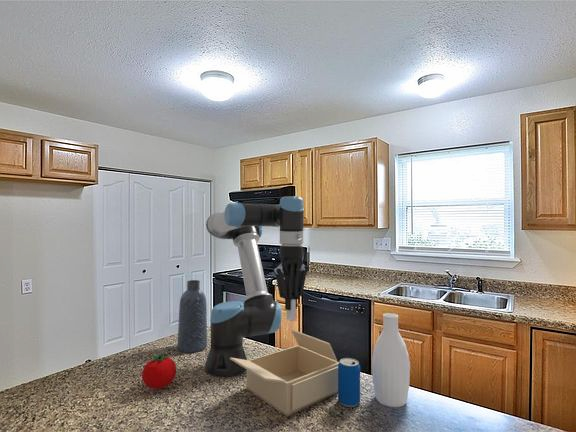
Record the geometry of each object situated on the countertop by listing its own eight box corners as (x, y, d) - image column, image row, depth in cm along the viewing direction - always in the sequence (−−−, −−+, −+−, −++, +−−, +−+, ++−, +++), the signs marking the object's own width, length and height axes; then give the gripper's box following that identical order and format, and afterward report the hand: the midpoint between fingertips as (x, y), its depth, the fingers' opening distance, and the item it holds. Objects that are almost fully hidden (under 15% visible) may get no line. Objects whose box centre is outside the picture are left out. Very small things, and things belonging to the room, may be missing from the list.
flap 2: (337, 360, 107) (329, 343, 105) (336, 361, 106) (328, 344, 104) (299, 344, 121) (291, 329, 118) (298, 345, 120) (291, 330, 118)
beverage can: (360, 409, 96) (360, 367, 96) (337, 407, 97) (337, 365, 97) (360, 398, 102) (360, 358, 102) (338, 395, 103) (338, 356, 104)
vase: (203, 353, 137) (204, 283, 138) (173, 353, 137) (174, 283, 137) (209, 342, 149) (210, 278, 150) (182, 342, 149) (183, 278, 150)
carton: (245, 388, 108) (245, 359, 108) (296, 369, 122) (296, 344, 122) (288, 418, 91) (289, 384, 91) (342, 392, 105) (342, 363, 106)
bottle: (390, 413, 94) (390, 322, 94) (364, 395, 104) (364, 312, 104) (418, 404, 99) (418, 317, 100) (390, 387, 109) (390, 308, 109)
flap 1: (247, 362, 106) (229, 359, 102) (248, 360, 106) (230, 357, 102) (283, 382, 93) (264, 380, 88) (284, 380, 93) (265, 378, 89)
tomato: (182, 386, 108) (182, 355, 109) (150, 398, 101) (151, 365, 101) (166, 376, 115) (167, 347, 116) (135, 387, 108) (136, 355, 108)
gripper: (282, 246, 100) (281, 326, 99) (314, 245, 108) (314, 319, 107) (267, 245, 106) (267, 320, 105) (299, 244, 114) (299, 314, 113)
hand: (291, 319), depth 106 cm, fingers closed
